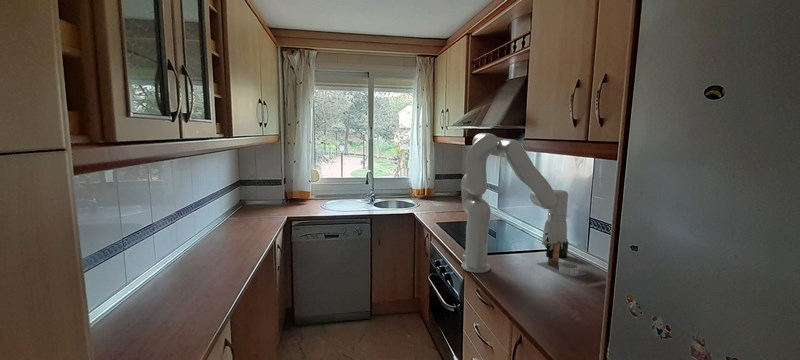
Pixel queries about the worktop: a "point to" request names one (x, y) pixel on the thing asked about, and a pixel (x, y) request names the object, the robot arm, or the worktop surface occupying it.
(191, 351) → the worktop surface
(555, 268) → the bracket board
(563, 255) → the supplement bottle
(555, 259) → the rail post
